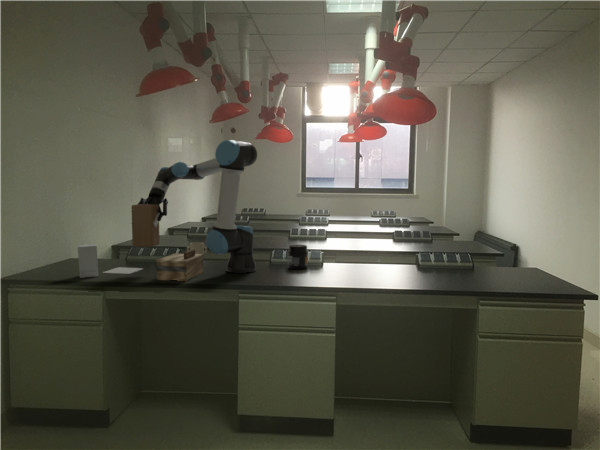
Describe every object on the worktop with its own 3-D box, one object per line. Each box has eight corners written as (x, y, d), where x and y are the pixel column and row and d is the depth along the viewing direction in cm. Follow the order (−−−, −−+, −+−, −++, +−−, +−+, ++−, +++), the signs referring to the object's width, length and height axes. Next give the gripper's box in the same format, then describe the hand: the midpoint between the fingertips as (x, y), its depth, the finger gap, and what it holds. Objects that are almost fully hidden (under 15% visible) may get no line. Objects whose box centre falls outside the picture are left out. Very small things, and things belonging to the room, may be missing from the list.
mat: (143, 269, 235) (143, 268, 235) (129, 274, 221) (129, 273, 221) (118, 268, 237) (118, 267, 237) (102, 273, 223) (102, 272, 223)
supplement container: (309, 267, 246) (309, 244, 245) (305, 270, 236) (305, 247, 235) (290, 265, 249) (291, 244, 248) (285, 269, 239) (285, 246, 238)
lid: (203, 256, 226) (203, 248, 226) (186, 263, 206) (186, 254, 206) (175, 255, 229) (175, 247, 228) (155, 262, 208) (155, 253, 208)
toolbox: (202, 272, 227) (202, 256, 226) (186, 281, 207) (186, 263, 206) (175, 271, 229) (175, 255, 229) (156, 280, 209) (156, 262, 208)
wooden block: (160, 244, 227) (159, 204, 226) (151, 247, 217) (150, 205, 216) (141, 244, 228) (139, 204, 227) (131, 246, 218) (130, 204, 217)
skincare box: (98, 274, 220) (97, 243, 219) (98, 276, 215) (97, 245, 214) (78, 275, 217) (77, 244, 216) (78, 278, 211) (77, 246, 210)
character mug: (209, 266, 244) (209, 242, 243) (205, 269, 237) (205, 244, 236) (189, 266, 245) (188, 242, 244) (184, 268, 238) (184, 243, 237)
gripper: (181, 197, 235) (168, 230, 221) (140, 197, 239) (124, 229, 225) (177, 187, 229) (163, 220, 215) (134, 186, 233) (118, 219, 219)
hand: (143, 225), depth 220 cm, fingers closed on wooden block, 10 cm apart
